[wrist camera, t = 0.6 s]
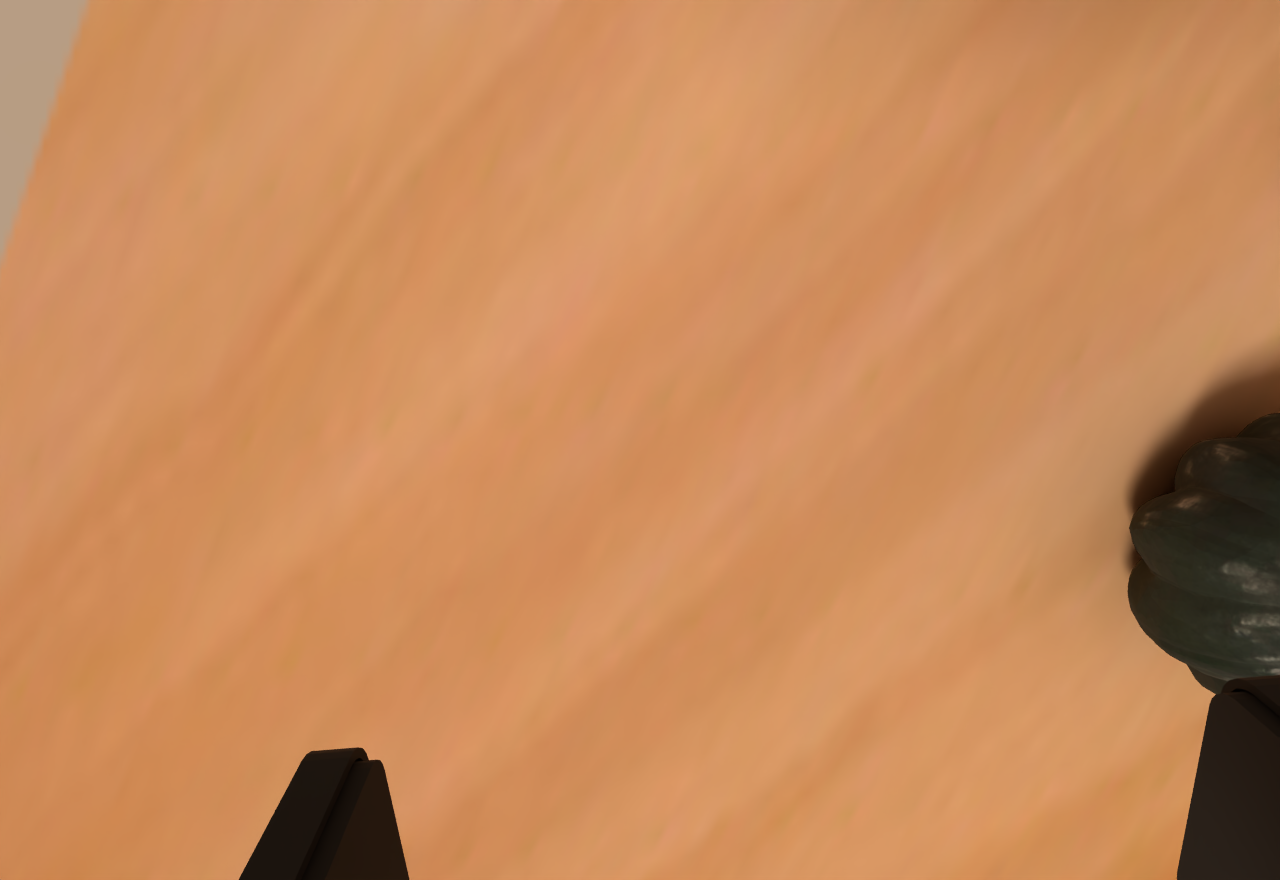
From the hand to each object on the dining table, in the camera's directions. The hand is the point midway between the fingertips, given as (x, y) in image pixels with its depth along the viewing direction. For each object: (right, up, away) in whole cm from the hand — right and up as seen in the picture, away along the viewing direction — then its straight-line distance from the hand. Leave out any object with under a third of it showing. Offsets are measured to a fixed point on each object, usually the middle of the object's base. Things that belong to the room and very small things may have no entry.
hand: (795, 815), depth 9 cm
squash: (+30, 0, +35) cm, 46 cm away
